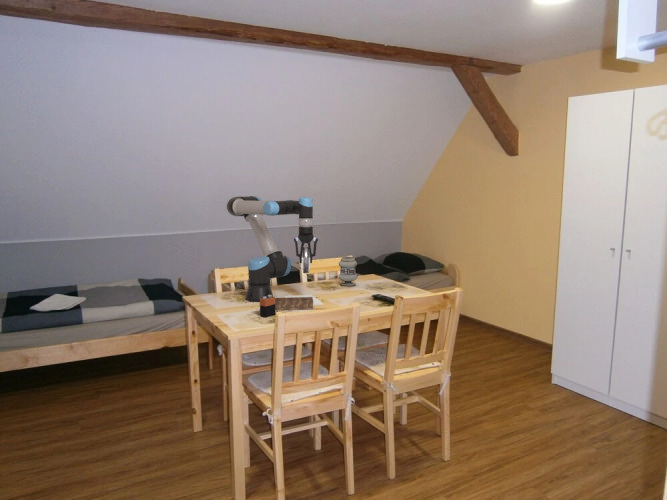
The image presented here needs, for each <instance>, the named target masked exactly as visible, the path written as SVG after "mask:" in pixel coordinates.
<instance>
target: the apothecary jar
mask: <svg viewBox="0 0 667 500" xmlns="http://www.w3.org/2000/svg"><path fill="white" fill-rule="evenodd" d="M355 259H356V258H355V256H341V259H340V260H339V262H338V266H339V268H340V273H339V274H338V279H339V281H342V283H340V284H339V285H340V287H344V288H353V287H355V286H357V285H356V283H354V281H356V280H357V279H358V274H357V272H356V271H357V270H356V267H357V266H358V262H357V260H355Z"/></svg>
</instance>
